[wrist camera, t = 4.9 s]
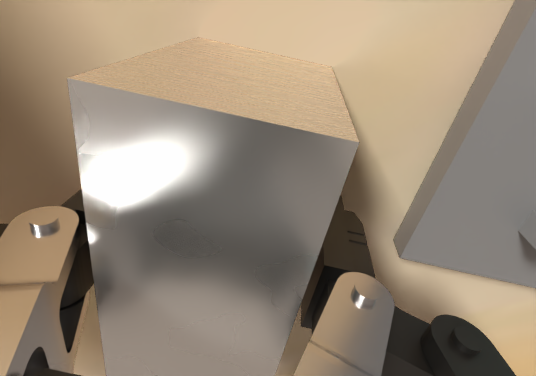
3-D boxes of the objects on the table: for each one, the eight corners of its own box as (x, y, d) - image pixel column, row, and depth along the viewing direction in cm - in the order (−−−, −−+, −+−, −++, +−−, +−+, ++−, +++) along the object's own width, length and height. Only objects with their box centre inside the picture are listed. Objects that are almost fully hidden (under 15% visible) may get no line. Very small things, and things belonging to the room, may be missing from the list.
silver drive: (183, 258, 14) (110, 408, 9) (198, 36, 9) (67, 77, 4) (272, 278, 14) (251, 439, 9) (331, 66, 9) (359, 142, 4)
